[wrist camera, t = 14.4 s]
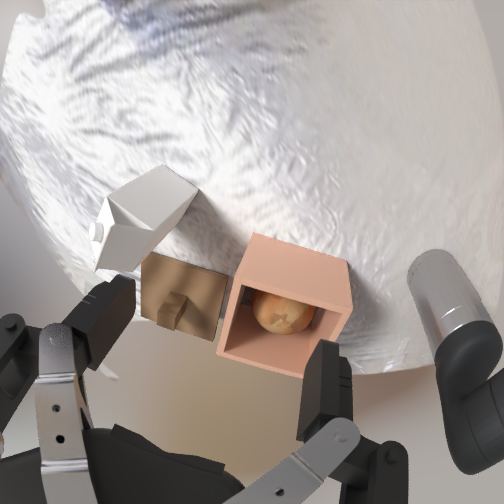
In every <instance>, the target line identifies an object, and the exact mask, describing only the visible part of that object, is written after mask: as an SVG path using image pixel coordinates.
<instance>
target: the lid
mask: <svg viewBox="0 0 504 504" xmlns="http://www.w3.org/2000/svg"><path fill="white" fill-rule="evenodd" d="M227 280H228V276H226V275H223V274H220V273H217V272H213V271H210V270H207V269H204V268H201V267H197V266H194V265H191V264H188V263H185V262H182V261H179V260H176V259H172V258H169V257H166V256H163V255H160V254H157V253H154V252H151V253H150V254H149V255H148V256H147V257H146V258H145V259H144V260H143V261H142V262H141V316H142V317H144V318H147V319H150V320H152V321H155V322H157V325H159V326H162V327H164V328H167V329H170V330H173V331H174V330H175V329H177V330H180V331H182V332H185V333H188V334H191V335H194V336H197V337H200V338H203V339H206V340H209V341H212V342H213V340H214V338H215V333H216V329H217V324H218V320H219V315H220V311H221V306H222V302H223V297H224V293H225V289H226V284H227Z"/></svg>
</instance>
